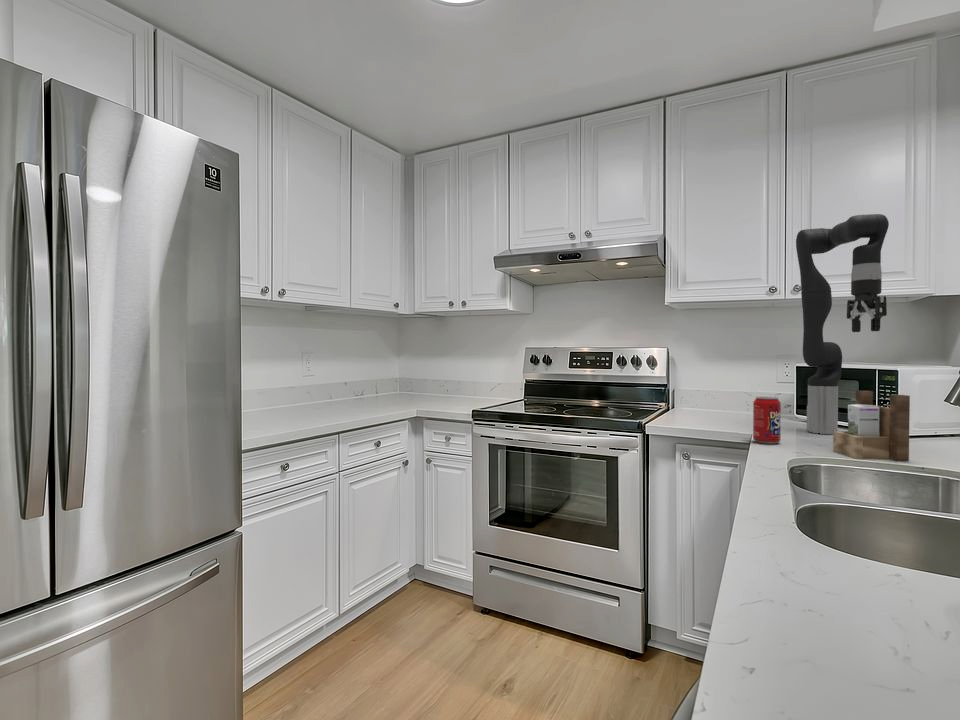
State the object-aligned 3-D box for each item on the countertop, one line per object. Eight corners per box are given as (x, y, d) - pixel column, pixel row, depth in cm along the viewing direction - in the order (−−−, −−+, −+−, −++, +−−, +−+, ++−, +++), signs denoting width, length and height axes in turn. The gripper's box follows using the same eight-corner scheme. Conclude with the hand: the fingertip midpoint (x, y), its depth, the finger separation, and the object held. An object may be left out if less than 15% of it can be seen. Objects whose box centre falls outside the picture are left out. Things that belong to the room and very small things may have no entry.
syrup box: (880, 457, 145) (881, 406, 144) (857, 456, 146) (857, 406, 145) (868, 453, 150) (869, 404, 150) (846, 452, 151) (847, 403, 151)
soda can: (749, 440, 172) (750, 395, 172) (775, 440, 171) (775, 396, 171) (757, 444, 165) (757, 398, 164) (784, 445, 163) (784, 398, 163)
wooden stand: (826, 449, 157) (826, 390, 156) (865, 449, 156) (866, 390, 156) (865, 461, 140) (865, 395, 139) (908, 461, 139) (909, 395, 139)
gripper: (838, 282, 166) (838, 332, 166) (869, 276, 151) (869, 331, 152) (862, 282, 165) (862, 332, 166) (896, 276, 151) (895, 330, 151)
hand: (865, 331), depth 159 cm, fingers open, 8 cm apart
